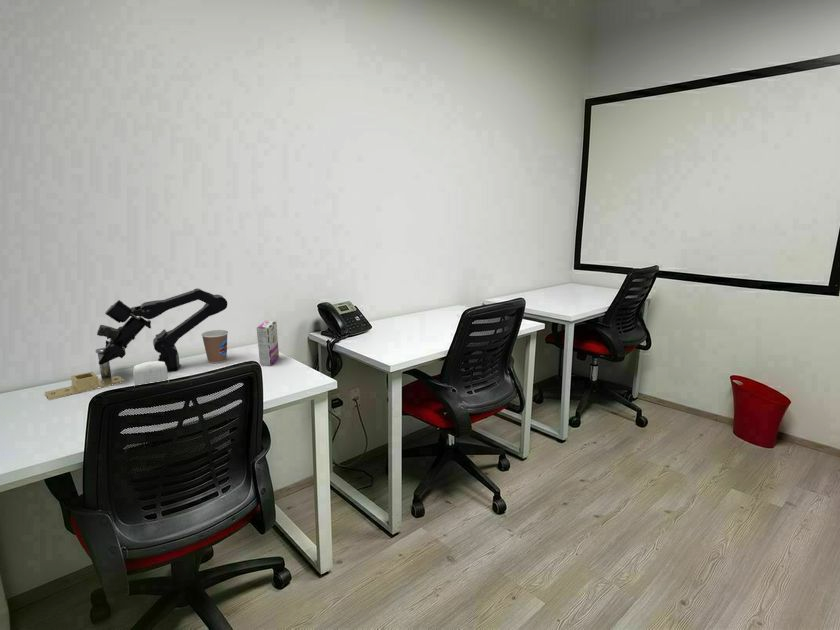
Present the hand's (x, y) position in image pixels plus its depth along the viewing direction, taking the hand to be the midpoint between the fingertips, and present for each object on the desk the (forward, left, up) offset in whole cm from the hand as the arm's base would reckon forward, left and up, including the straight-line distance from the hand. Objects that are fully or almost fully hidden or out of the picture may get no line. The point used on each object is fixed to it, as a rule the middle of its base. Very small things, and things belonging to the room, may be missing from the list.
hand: (99, 362), depth 180 cm
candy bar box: (-59, -12, -7) cm, 61 cm away
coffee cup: (-37, -17, -7) cm, 41 cm away
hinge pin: (-1, -1, -7) cm, 7 cm away
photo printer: (-24, +19, -7) cm, 32 cm away
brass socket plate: (+2, +8, -7) cm, 11 cm away
